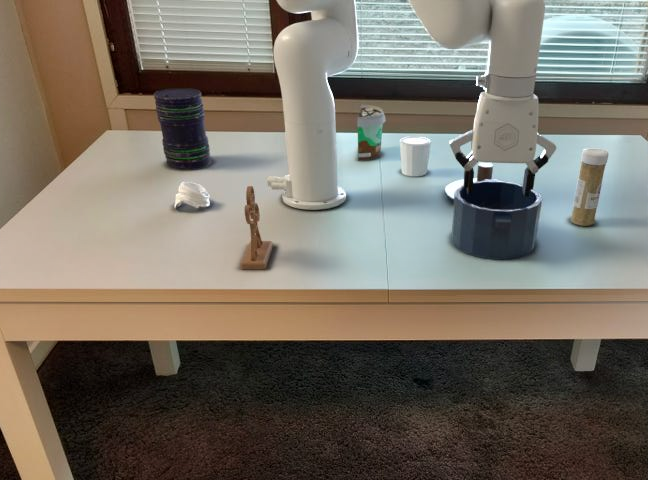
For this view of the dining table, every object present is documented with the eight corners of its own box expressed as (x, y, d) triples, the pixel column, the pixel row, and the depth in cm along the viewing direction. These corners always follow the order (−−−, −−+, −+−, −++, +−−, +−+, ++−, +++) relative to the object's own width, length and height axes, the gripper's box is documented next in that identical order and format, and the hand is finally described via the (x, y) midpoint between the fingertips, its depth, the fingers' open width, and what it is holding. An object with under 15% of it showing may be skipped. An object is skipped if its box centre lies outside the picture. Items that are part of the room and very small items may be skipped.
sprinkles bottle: (593, 228, 120) (608, 156, 113) (568, 224, 121) (581, 153, 114) (595, 219, 124) (609, 148, 116) (570, 216, 125) (583, 145, 117)
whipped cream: (179, 202, 128) (172, 178, 126) (213, 198, 129) (207, 174, 127) (173, 215, 122) (166, 189, 119) (209, 210, 122) (203, 185, 120)
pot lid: (446, 209, 126) (448, 176, 122) (443, 182, 139) (445, 151, 135) (525, 212, 126) (530, 179, 122) (515, 184, 139) (519, 153, 135)
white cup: (426, 178, 141) (428, 146, 137) (396, 175, 142) (396, 143, 138) (431, 168, 146) (433, 137, 142) (402, 166, 147) (402, 134, 143)
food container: (384, 163, 149) (384, 118, 143) (357, 162, 149) (357, 117, 143) (386, 147, 159) (386, 104, 153) (361, 146, 159) (360, 103, 153)
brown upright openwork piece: (250, 245, 111) (242, 177, 104) (273, 245, 111) (266, 177, 104) (240, 269, 103) (231, 197, 97) (265, 269, 103) (257, 197, 97)
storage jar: (192, 153, 151) (181, 85, 143) (220, 162, 147) (211, 92, 138) (156, 164, 145) (143, 93, 136) (185, 173, 140) (173, 101, 132)
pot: (454, 265, 106) (458, 216, 101) (449, 218, 123) (452, 174, 118) (543, 268, 106) (551, 219, 101) (525, 220, 123) (532, 176, 118)
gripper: (455, 89, 96) (447, 199, 106) (570, 93, 97) (551, 203, 106) (452, 78, 103) (445, 183, 112) (561, 82, 103) (544, 187, 112)
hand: (497, 192), depth 109 cm, fingers open, 9 cm apart
